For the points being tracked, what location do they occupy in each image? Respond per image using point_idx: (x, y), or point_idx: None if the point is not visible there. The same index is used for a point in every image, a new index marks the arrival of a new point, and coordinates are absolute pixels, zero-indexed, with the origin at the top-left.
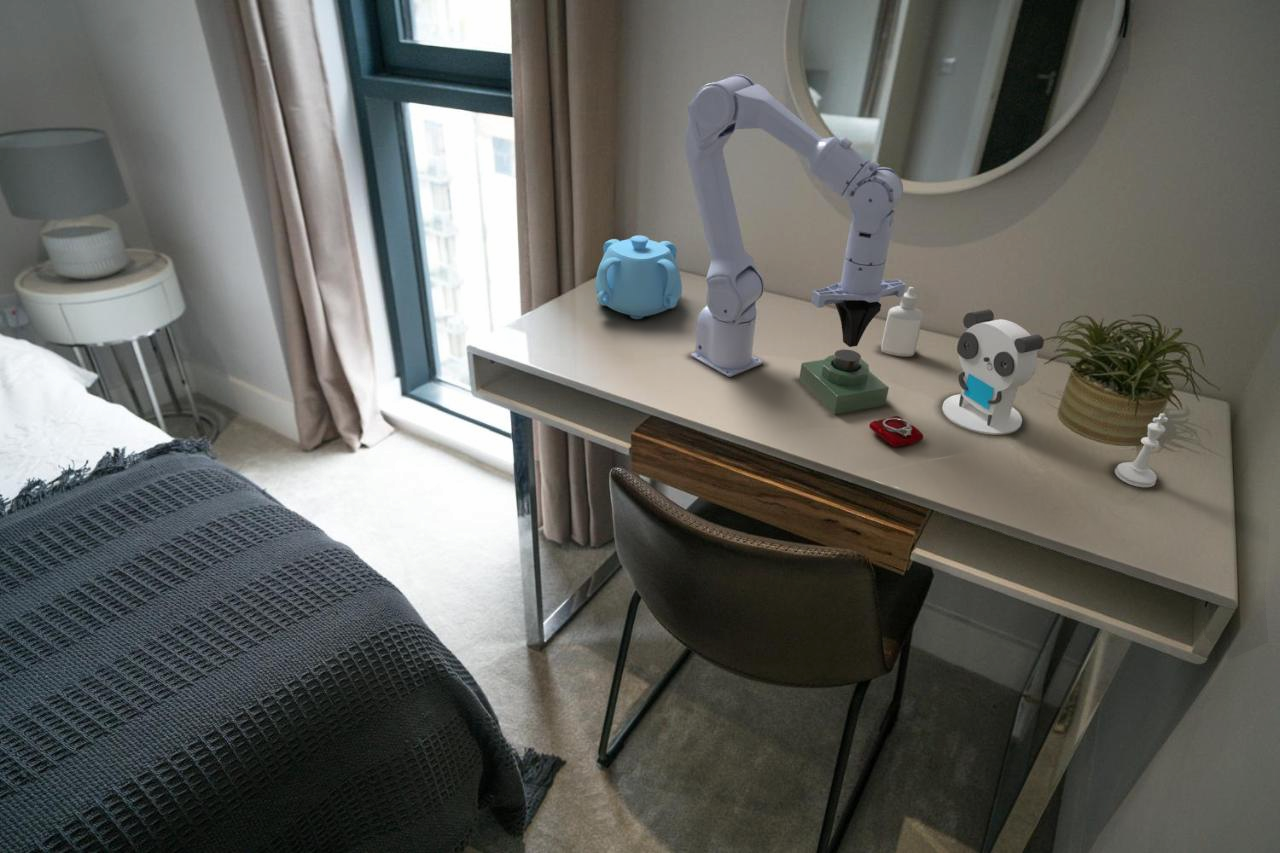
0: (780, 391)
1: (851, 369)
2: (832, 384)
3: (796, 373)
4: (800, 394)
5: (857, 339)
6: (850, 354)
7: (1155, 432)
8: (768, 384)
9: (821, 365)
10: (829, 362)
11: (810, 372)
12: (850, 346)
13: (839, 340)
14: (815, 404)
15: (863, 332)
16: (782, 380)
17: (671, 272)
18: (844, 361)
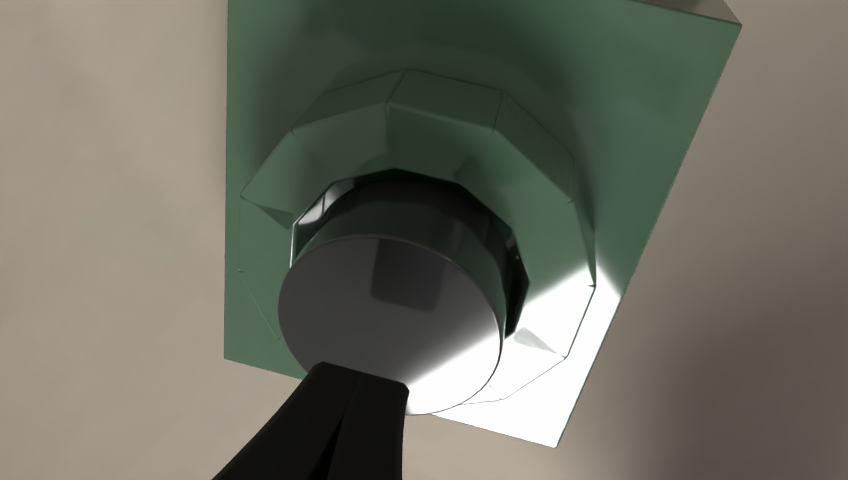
0: (744, 347)
1: (438, 202)
2: (610, 182)
3: None
4: (675, 272)
5: (320, 422)
6: (356, 330)
7: None
8: (733, 417)
9: None
10: None
11: (592, 362)
12: (404, 386)
13: (134, 465)
14: (699, 149)
15: (226, 475)
16: (633, 404)
17: None
18: (487, 285)
